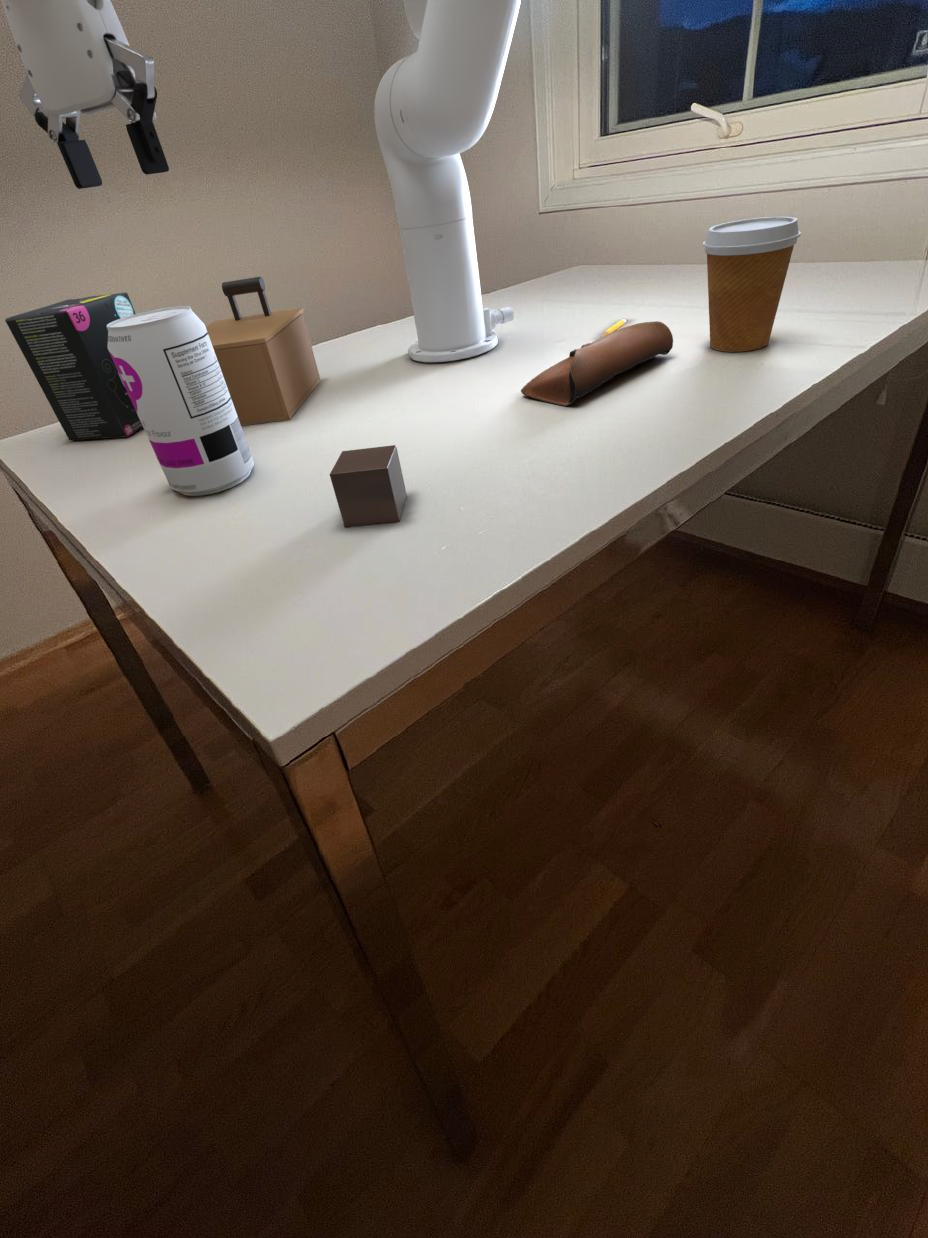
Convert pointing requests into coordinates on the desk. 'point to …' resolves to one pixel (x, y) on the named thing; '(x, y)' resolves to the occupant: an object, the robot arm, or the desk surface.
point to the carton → (270, 375)
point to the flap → (248, 318)
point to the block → (369, 486)
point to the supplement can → (181, 399)
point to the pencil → (615, 327)
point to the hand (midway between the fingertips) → (122, 180)
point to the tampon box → (79, 364)
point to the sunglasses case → (599, 362)
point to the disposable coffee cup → (747, 279)
